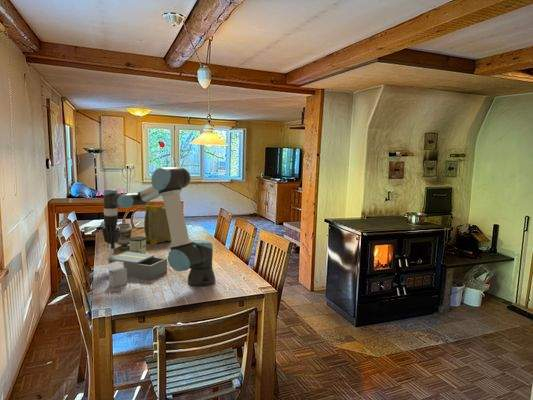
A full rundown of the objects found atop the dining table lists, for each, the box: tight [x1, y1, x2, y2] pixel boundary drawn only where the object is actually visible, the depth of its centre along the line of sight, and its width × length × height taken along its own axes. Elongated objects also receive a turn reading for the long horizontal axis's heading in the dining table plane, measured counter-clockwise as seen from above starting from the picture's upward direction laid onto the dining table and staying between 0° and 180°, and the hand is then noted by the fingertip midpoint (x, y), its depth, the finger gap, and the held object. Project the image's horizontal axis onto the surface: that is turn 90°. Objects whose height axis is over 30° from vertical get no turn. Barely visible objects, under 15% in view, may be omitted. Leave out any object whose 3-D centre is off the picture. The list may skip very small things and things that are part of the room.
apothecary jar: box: [115, 222, 133, 250], centre depth 264 cm, size 12×12×18 cm
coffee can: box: [129, 235, 147, 254], centre depth 238 cm, size 10×10×14 cm
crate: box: [123, 256, 168, 281], centre depth 208 cm, size 18×16×8 cm
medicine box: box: [108, 266, 128, 288], centre depth 189 cm, size 8×4×9 cm, turn 141°
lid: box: [107, 251, 155, 264], centre depth 210 cm, size 20×16×3 cm
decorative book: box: [143, 204, 172, 246], centre depth 284 cm, size 20×11×30 cm, turn 136°
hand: (111, 253), depth 214 cm, fingers closed
